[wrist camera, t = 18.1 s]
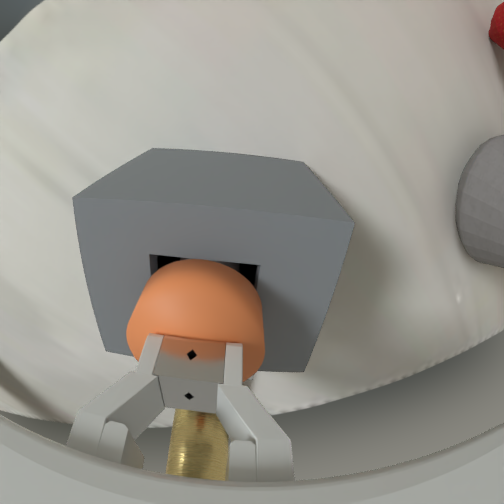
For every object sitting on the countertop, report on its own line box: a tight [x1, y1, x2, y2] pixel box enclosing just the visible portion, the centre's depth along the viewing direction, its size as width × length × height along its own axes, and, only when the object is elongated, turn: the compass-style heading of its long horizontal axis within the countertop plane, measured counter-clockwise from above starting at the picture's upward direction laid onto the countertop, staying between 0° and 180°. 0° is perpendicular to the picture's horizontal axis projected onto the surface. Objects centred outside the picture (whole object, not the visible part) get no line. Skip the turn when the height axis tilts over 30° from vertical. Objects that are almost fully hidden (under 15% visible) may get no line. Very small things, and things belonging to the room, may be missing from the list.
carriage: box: [166, 375, 253, 481], centre depth 16 cm, size 7×7×14 cm
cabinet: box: [73, 148, 355, 372], centre depth 15 cm, size 11×8×10 cm
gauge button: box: [126, 257, 265, 382], centre depth 14 cm, size 5×5×11 cm
